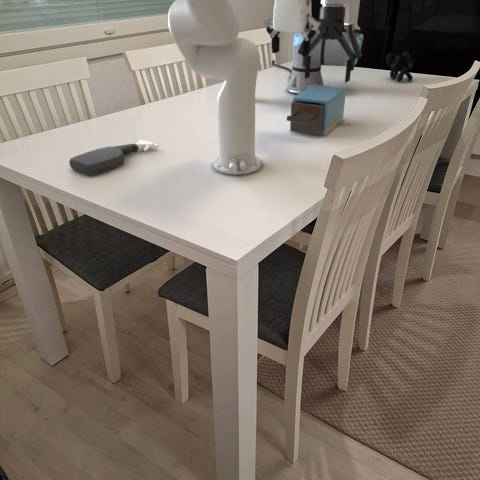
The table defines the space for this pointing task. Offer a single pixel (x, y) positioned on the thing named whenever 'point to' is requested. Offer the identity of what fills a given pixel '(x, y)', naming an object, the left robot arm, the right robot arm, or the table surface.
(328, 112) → the cabinet
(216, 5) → the left robot arm
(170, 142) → the table surface
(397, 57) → the squiggle
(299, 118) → the drawer
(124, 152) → the spray bottle
